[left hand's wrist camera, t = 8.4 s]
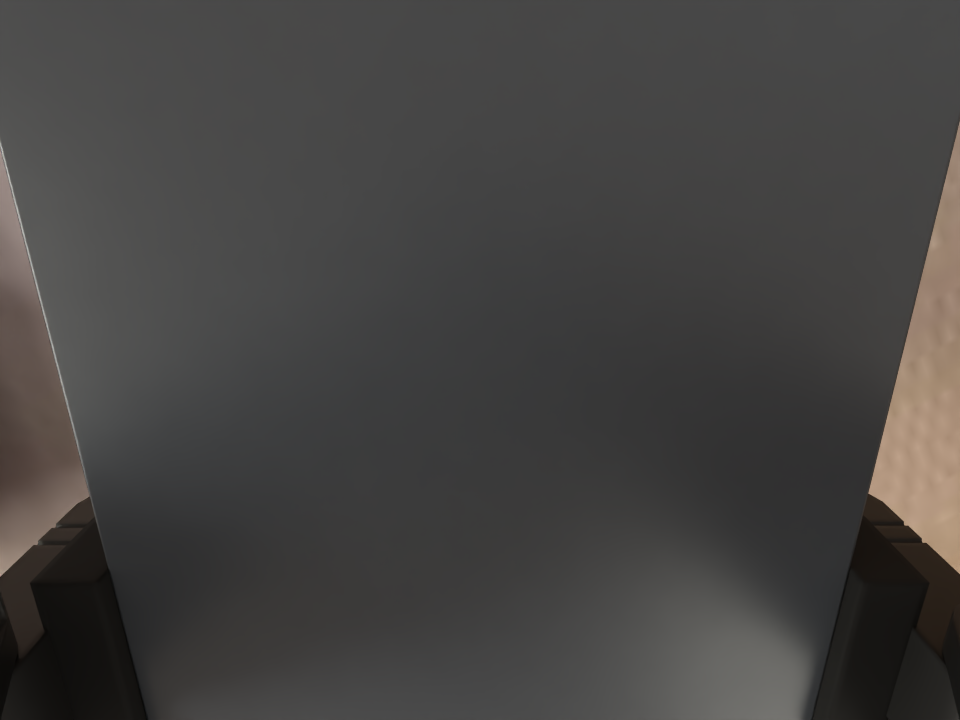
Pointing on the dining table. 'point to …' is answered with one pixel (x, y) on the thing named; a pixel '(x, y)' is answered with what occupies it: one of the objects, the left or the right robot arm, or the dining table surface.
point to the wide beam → (478, 336)
